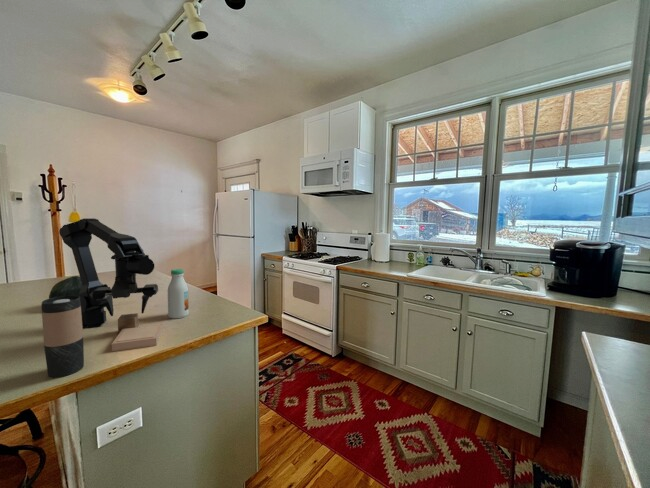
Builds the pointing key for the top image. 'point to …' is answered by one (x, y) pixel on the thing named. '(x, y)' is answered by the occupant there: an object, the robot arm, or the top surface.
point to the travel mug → (63, 335)
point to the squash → (67, 287)
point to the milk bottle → (177, 295)
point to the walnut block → (127, 321)
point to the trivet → (137, 337)
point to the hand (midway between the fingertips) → (127, 314)
